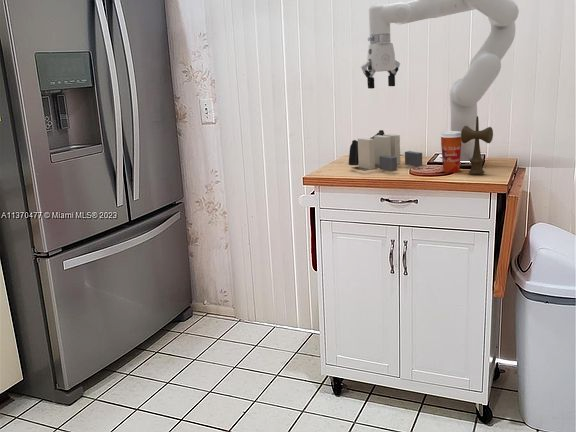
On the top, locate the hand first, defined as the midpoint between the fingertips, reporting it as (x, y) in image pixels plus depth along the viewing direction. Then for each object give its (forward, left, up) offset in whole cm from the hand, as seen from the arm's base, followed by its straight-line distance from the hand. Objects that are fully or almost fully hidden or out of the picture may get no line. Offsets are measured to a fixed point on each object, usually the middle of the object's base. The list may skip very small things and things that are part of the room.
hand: (381, 87), depth 224 cm
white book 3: (-2, -3, -29) cm, 29 cm away
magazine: (+14, -4, -30) cm, 34 cm away
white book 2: (-2, +2, -29) cm, 29 cm away
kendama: (-36, -12, -30) cm, 49 cm away
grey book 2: (-11, -6, -30) cm, 33 cm away
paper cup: (-26, -10, -30) cm, 41 cm away
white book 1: (-2, +10, -29) cm, 31 cm away
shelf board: (-1, +5, -30) cm, 31 cm away
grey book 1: (-11, +6, -30) cm, 33 cm away
